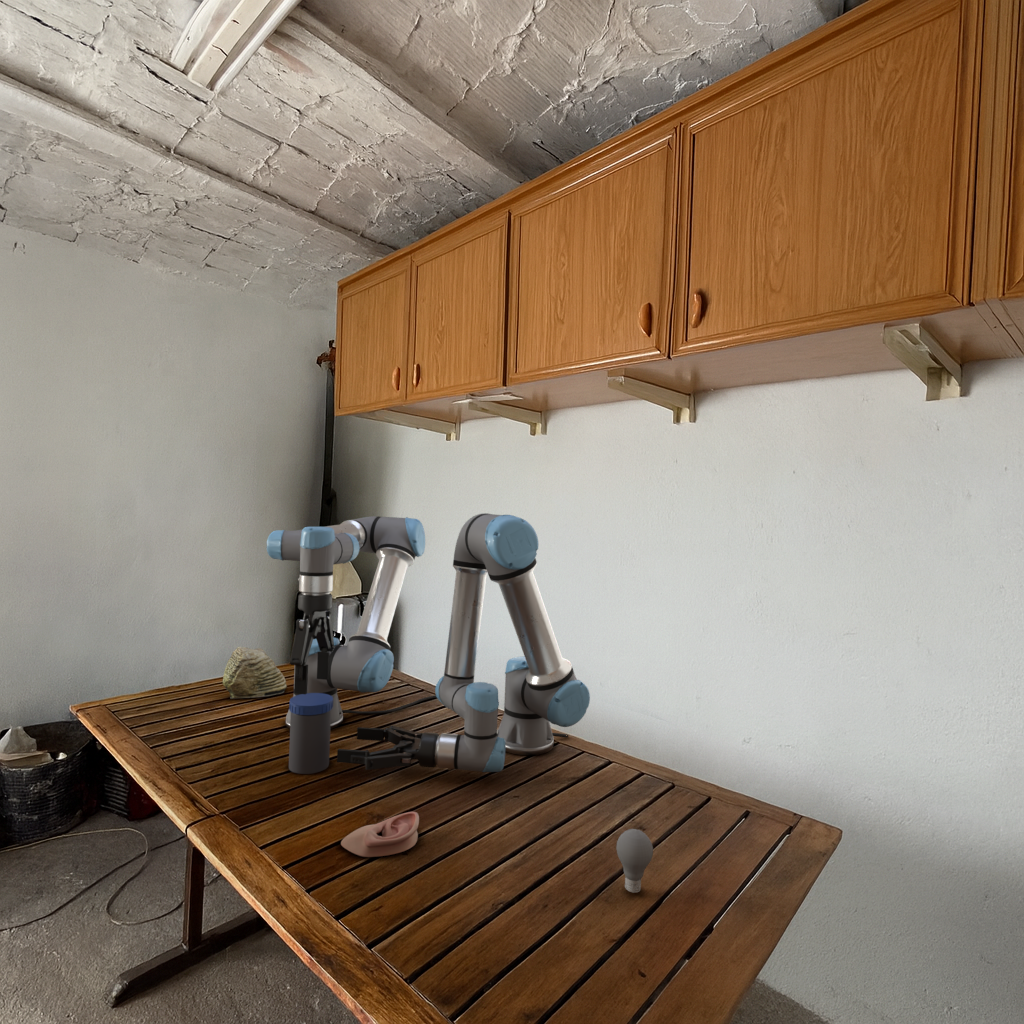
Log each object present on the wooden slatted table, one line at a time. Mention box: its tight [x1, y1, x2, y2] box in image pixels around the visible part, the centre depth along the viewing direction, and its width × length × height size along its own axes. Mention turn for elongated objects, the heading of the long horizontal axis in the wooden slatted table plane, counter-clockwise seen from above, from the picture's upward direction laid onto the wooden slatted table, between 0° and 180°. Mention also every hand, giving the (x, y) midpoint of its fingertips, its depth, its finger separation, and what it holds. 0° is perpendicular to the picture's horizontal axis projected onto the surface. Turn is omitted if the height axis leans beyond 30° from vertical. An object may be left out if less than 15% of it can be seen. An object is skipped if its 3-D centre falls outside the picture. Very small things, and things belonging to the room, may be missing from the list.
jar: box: [288, 710, 331, 775], centre depth 149 cm, size 9×9×15 cm
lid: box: [288, 693, 333, 715], centre depth 148 cm, size 10×10×2 cm
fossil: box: [222, 646, 288, 699], centre depth 198 cm, size 9×18×15 cm, turn 132°
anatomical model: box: [340, 811, 420, 858], centre depth 117 cm, size 13×4×12 cm
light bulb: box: [615, 828, 654, 894], centre depth 106 cm, size 6×6×10 cm
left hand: (312, 685), depth 148 cm, fingers open, 11 cm apart
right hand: (347, 743), depth 147 cm, fingers open, 13 cm apart
